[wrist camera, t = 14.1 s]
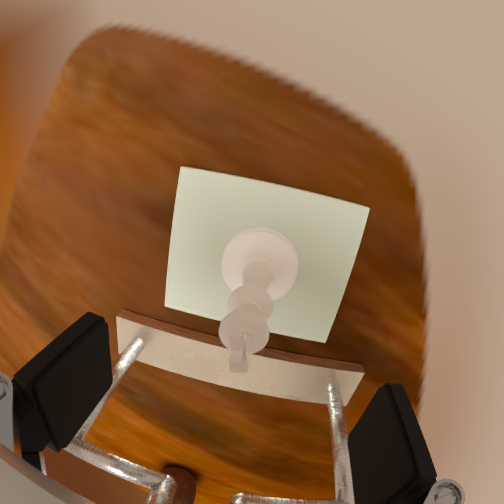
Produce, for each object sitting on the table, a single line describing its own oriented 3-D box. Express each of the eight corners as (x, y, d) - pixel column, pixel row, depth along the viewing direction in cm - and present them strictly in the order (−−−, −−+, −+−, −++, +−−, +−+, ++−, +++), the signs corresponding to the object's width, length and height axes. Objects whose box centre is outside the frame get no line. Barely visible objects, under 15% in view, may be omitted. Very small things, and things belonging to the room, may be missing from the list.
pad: (324, 336, 21) (325, 342, 20) (168, 301, 21) (164, 306, 21) (366, 206, 18) (369, 208, 17) (184, 166, 18) (180, 166, 17)
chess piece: (296, 224, 18) (308, 299, 8) (300, 297, 19) (308, 411, 10) (217, 230, 18) (150, 304, 9) (227, 300, 20) (184, 409, 10)
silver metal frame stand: (344, 396, 23) (365, 573, 7) (124, 346, 23) (20, 489, 8) (361, 363, 21) (405, 558, 5) (123, 309, 22) (-9, 458, 6)
